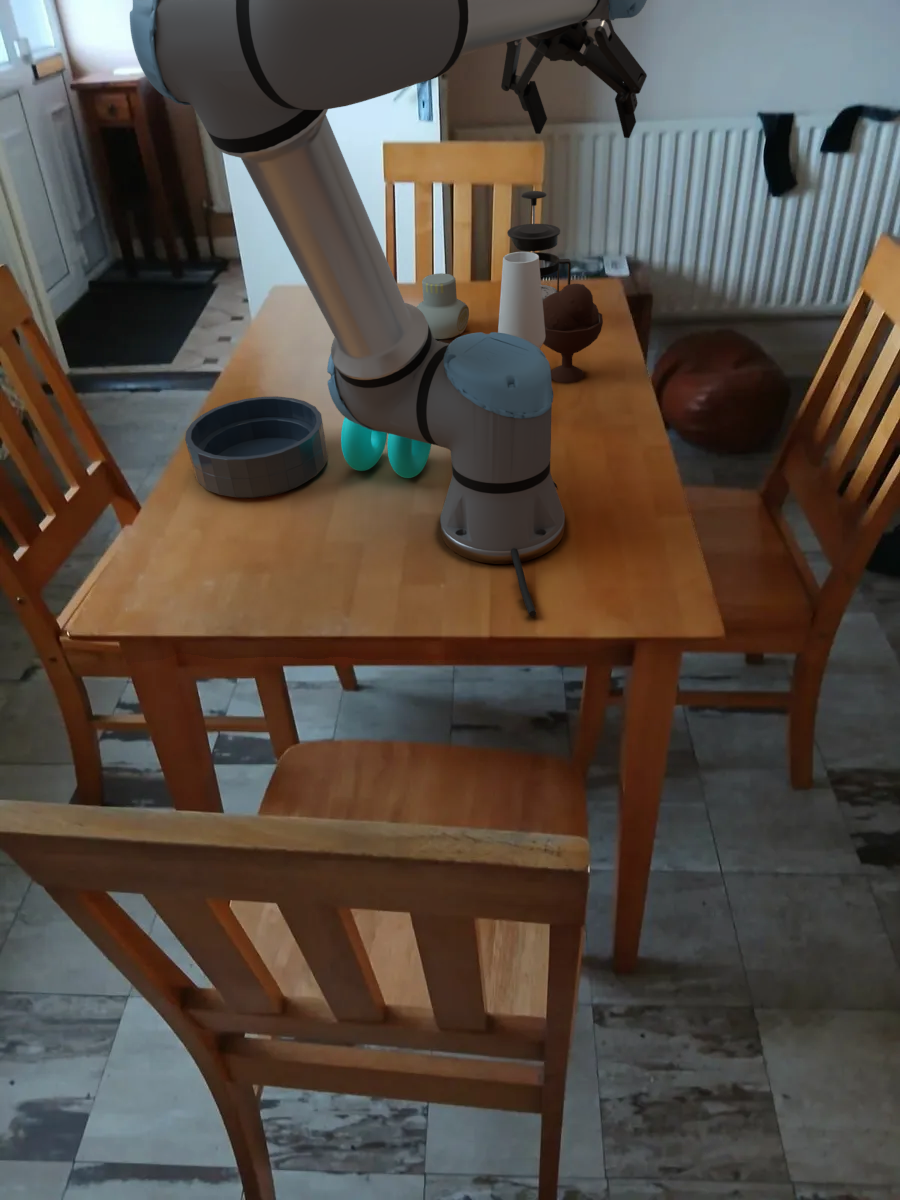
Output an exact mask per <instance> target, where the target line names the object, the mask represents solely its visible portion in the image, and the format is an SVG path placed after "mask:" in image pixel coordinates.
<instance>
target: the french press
mask: <svg viewBox="0 0 900 1200" xmlns="http://www.w3.org/2000/svg"><path fill="white" fill-rule="evenodd" d="M547 195H548V194H547V193H546V192H545V191H541V190H529V191H526V192H523V193H521V195H520V196H521V198H523V199H527V200H530V205H531V206H532V223H526V224H520V225H516V226H513V227H511V228H509V229H508V230H507V233H506V234H507V236H508V238H510V239H511V241H512V243H513V245H514V246H515V248H516V249H517V250H519V251H520V252H531V253H535V254H537V255H538V256H539V261H546V262H550V263H553V264H552V265H547V266H544V267H540V277H545V276H548V275H551V274H554V273H557V275H556V276H557V278H556V280H557V281H556V288H555V287H553V286H550V285H546V284H541V289H542V301H543V300H544V299H545V298H546V297H547V296H549V295H551V294H553V293H556V292H559V291H560V265H565V264H567V285H568V284H571V278H572V277H571V276H572V275H571V273H572V272H571V271H572V262H571V259H570V258H560V257H559V256H557V255H555V254H552V253H549V252H541V251H547V250H551V249H554V248H555V247H556V246H557V245H558V236H560V234H561V229H560V227H558V226H556V225H553V224H548V223H536V206H537V205H538V204H537V203H538V202H537V201H538V199H543V198H545V197H546V196H547Z"/></svg>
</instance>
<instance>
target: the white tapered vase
mask: <svg viewBox="0 0 900 1200" xmlns="http://www.w3.org/2000/svg"><path fill="white" fill-rule="evenodd" d="M531 252H532V251H515V252H510V253H507V254H505V255H503V257H502V267H501V268H502V269H501V281H500V283H501V284H500V297H499V312H498V327H497V333H505V334H509V335H513V336H517V337H520V338H522V339H525V340H527V341H529V342H531V343H532V344H534V345H535V346H537V347H538V348H539V349H540V350H541V348H542V346H543V345H544V344H543V342H544V341H545V324H544V313H543V301H542V289H541V285H542V279H541V276H540V268H541V267H540V260H539V256H538V255H537V254H535V253H531Z"/></svg>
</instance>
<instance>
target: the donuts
mask: <svg viewBox="0 0 900 1200" xmlns="http://www.w3.org/2000/svg"><path fill="white" fill-rule="evenodd" d="M340 445H341V453H342V455H343V458H344V461H345V462H346V464H347V465H348V466H349V467H350V468H351V469H353V470H355V471H358V472H365V471H368V470H370V469H372V468H373V467H375V466H376V464H377V463H378V462H379V461H380V459H381V457H382V456H383V454H384V450H385V448H386V445H387V456H388V461H389V465H390V466H391V468H392V470H393V471H394V472H395V474H397V475H398V476H399V477H400V478H404V479H412V478H414V477H417V476H418V475H419V474H421V472H422V471H423V470H424V469H425V466H426V465H427V462H428V459H429V457H430V454H431V449H432V444H429V443H425V442H421V441H417V440H413V439H409V438H405V437H401V436H397V435H393V434H389V433H385V432H378V431H373V430H370V429H368V428H365V427H363V426H361V425H359V424H356V423H354V422H352V421H350V420H348V419H347V418H346V417H344V418H343V421H342V426H341V433H340Z"/></svg>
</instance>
